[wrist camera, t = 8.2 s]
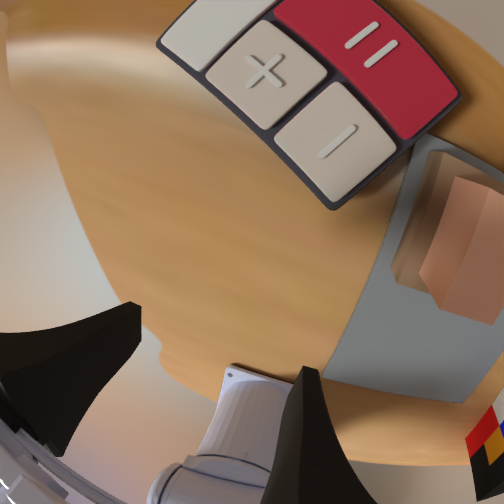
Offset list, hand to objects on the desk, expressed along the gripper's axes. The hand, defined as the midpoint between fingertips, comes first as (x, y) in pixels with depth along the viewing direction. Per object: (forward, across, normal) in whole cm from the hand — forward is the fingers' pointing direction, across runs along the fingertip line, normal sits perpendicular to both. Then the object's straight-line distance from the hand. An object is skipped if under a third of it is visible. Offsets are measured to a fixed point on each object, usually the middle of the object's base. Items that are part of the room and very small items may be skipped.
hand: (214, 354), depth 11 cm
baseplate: (+10, -15, -2) cm, 18 cm away
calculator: (+10, 0, -14) cm, 17 cm away
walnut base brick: (+9, -11, -7) cm, 16 cm away
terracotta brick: (+7, -11, -7) cm, 15 cm away
